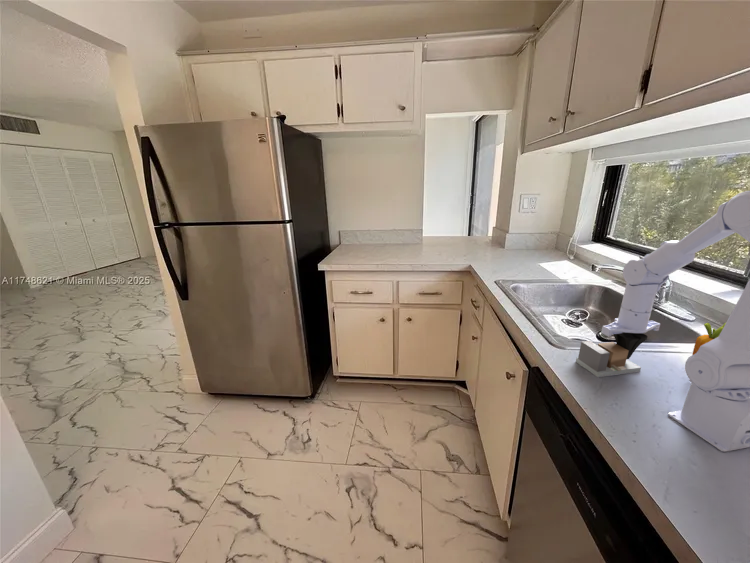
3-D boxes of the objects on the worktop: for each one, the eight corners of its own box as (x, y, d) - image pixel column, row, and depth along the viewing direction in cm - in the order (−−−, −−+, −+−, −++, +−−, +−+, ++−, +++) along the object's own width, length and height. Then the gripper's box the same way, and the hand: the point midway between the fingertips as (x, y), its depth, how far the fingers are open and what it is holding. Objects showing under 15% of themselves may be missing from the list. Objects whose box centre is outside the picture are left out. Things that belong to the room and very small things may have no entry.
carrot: (683, 380, 74) (702, 323, 69) (684, 371, 77) (703, 316, 72) (713, 389, 70) (736, 330, 66) (713, 379, 74) (734, 322, 69)
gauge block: (632, 370, 76) (636, 354, 74) (611, 373, 75) (615, 357, 74) (609, 356, 82) (612, 341, 80) (590, 359, 81) (593, 344, 80)
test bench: (640, 371, 77) (646, 349, 75) (597, 377, 76) (603, 355, 74) (615, 356, 84) (620, 336, 82) (575, 361, 82) (579, 340, 80)
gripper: (645, 300, 80) (633, 346, 84) (595, 304, 78) (585, 352, 82) (674, 310, 74) (659, 360, 78) (621, 316, 71) (608, 367, 76)
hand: (623, 357), depth 80 cm, fingers closed
